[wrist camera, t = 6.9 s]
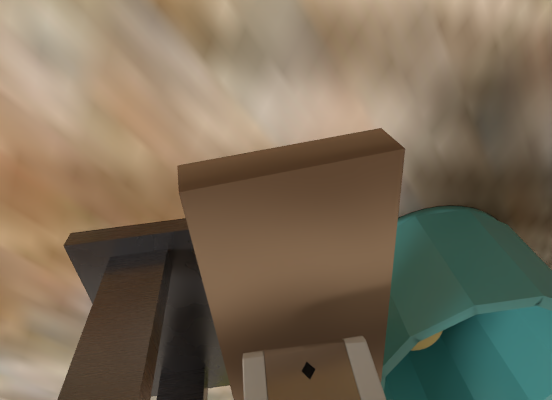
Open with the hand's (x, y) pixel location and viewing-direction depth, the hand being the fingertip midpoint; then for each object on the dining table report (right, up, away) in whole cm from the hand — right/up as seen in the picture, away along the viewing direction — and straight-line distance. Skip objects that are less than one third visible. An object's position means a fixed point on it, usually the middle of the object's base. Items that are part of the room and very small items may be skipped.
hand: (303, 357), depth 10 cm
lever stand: (-8, -3, +15) cm, 17 cm away
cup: (+9, -1, +16) cm, 18 cm away
